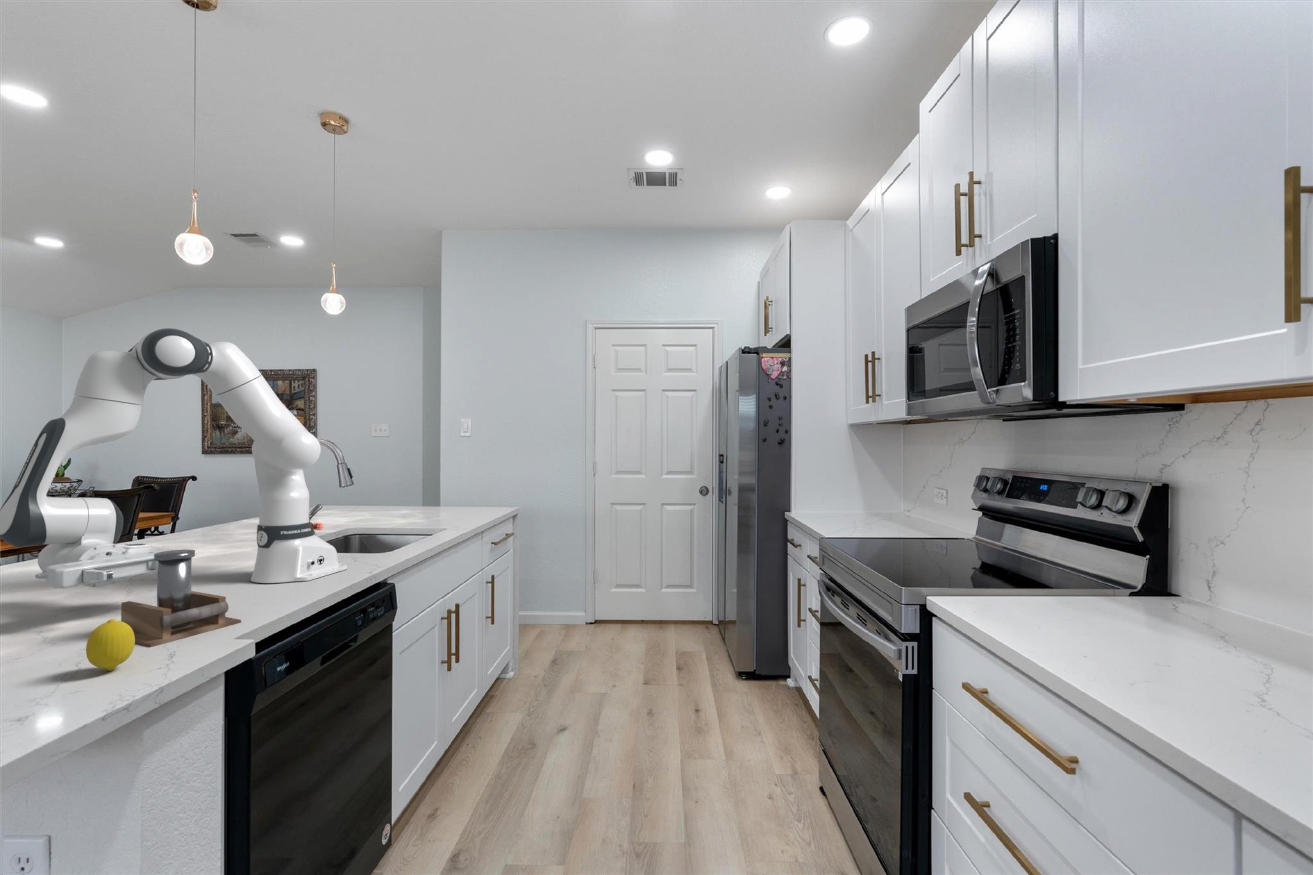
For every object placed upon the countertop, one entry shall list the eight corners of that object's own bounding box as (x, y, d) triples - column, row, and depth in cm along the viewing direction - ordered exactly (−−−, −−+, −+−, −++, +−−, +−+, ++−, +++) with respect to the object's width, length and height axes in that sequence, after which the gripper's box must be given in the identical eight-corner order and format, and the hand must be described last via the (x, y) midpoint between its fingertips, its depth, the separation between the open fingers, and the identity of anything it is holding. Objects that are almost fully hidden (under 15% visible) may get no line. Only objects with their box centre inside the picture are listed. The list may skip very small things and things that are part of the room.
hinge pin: (182, 619, 114) (183, 548, 114) (201, 623, 112) (202, 550, 112) (145, 628, 108) (146, 553, 108) (164, 632, 106) (165, 556, 106)
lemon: (110, 678, 87) (112, 625, 87) (74, 677, 87) (75, 624, 87) (144, 664, 93) (145, 614, 93) (110, 663, 93) (111, 613, 93)
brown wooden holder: (193, 613, 120) (194, 586, 120) (241, 622, 114) (241, 594, 114) (102, 635, 106) (102, 605, 106) (150, 646, 100) (151, 615, 100)
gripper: (30, 558, 110) (69, 565, 105) (156, 542, 129) (195, 547, 124) (29, 591, 110) (68, 600, 105) (156, 570, 129) (194, 576, 124)
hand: (138, 571), depth 115 cm, fingers open, 8 cm apart
